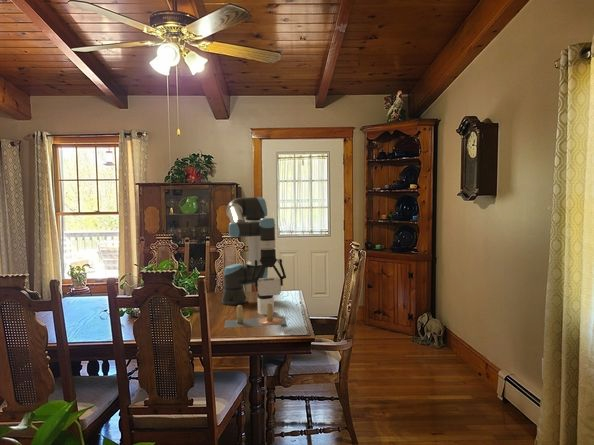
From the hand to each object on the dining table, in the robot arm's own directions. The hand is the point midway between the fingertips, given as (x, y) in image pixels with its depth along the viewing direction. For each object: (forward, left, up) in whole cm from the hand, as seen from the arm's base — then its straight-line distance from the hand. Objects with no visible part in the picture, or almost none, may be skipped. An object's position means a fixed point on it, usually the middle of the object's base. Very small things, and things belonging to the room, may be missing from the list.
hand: (269, 292), depth 213 cm
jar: (-16, +8, -16) cm, 24 cm away
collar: (0, 0, 0) cm, 0 cm away
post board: (-4, -6, -15) cm, 17 cm away
